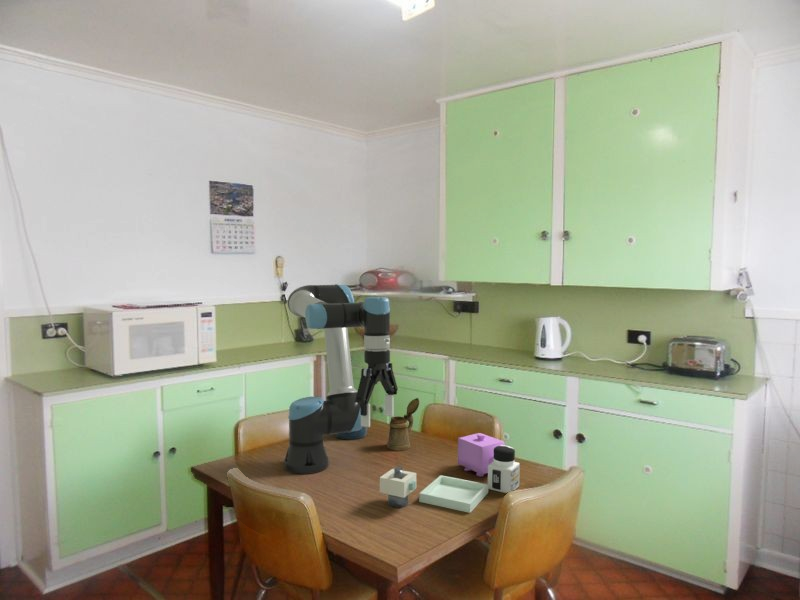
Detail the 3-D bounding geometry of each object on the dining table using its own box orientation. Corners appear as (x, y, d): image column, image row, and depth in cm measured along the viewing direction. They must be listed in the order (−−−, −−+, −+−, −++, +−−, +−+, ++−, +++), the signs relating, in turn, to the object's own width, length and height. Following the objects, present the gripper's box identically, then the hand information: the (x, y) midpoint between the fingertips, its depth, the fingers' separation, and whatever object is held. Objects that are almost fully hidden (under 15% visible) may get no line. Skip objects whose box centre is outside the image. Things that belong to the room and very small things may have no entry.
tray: (419, 501, 171) (419, 493, 171) (440, 483, 185) (440, 475, 185) (470, 512, 163) (470, 504, 163) (488, 492, 178) (488, 484, 177)
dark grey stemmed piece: (384, 505, 168) (384, 469, 167) (393, 497, 174) (394, 462, 173) (402, 509, 165) (402, 472, 165) (411, 501, 171) (412, 466, 170)
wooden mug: (424, 446, 221) (425, 400, 220) (394, 452, 214) (394, 404, 213) (412, 440, 229) (412, 395, 227) (382, 445, 221) (382, 399, 220)
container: (510, 494, 176) (511, 453, 175) (487, 489, 180) (487, 448, 179) (519, 486, 183) (520, 446, 182) (496, 481, 187) (497, 442, 186)
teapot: (453, 466, 200) (453, 430, 199) (474, 460, 206) (475, 426, 205) (493, 484, 184) (494, 446, 183) (515, 477, 190) (516, 440, 189)
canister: (369, 430, 240) (369, 389, 239) (364, 440, 227) (364, 396, 226) (338, 429, 241) (338, 388, 240) (332, 439, 229) (331, 395, 227)
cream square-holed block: (379, 492, 167) (379, 477, 167) (392, 483, 175) (392, 468, 174) (407, 498, 163) (408, 483, 163) (420, 488, 170) (420, 473, 170)
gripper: (365, 355, 156) (366, 432, 157) (408, 345, 178) (408, 413, 179) (342, 353, 160) (343, 429, 161) (387, 344, 182) (387, 410, 183)
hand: (377, 421), depth 170 cm, fingers open, 13 cm apart
